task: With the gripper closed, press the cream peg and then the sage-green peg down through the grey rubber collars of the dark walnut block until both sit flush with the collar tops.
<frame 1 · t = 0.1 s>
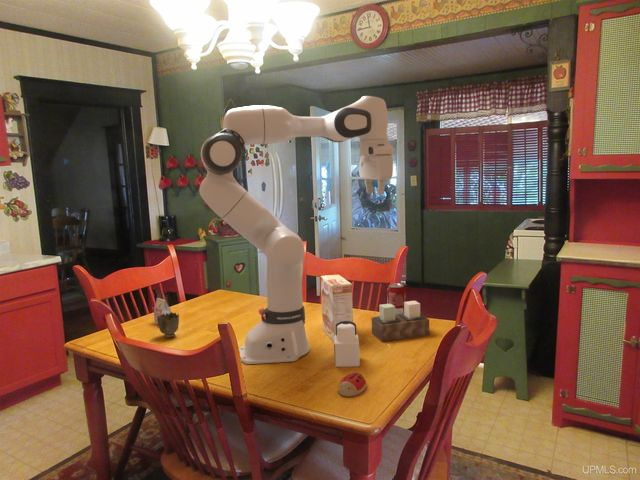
hand: (375, 194, 153), 48 cm above the table, fingers open, 8 cm apart
cup: (169, 337, 169), on the table
peg near sage: (387, 313, 160), point 8 cm above the table, slide at 4.5 cm
walnut block: (400, 334, 163), on the table
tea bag: (163, 325, 184), on the table
coffeecake box: (337, 335, 165), on the table
peg far cream: (412, 310, 163), point 8 cm above the table, slide at 4.5 cm
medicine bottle: (347, 362, 142), on the table
ladybug figurine: (352, 390, 124), on the table
soda can: (396, 316, 183), on the table
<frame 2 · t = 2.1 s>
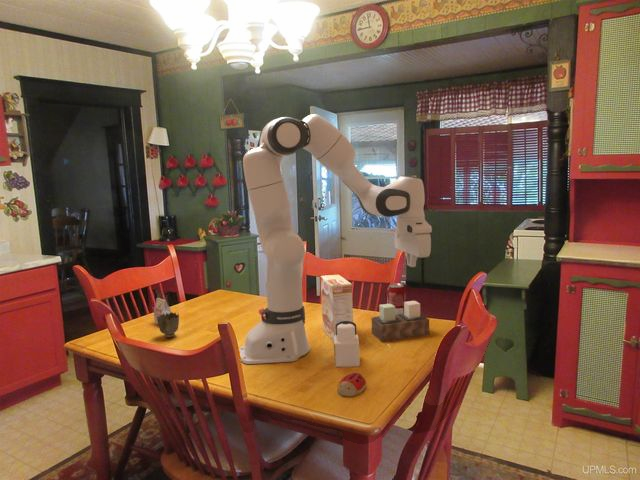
hand: (411, 266, 160), 23 cm above the table, fingers closed
nothing on the table moved.
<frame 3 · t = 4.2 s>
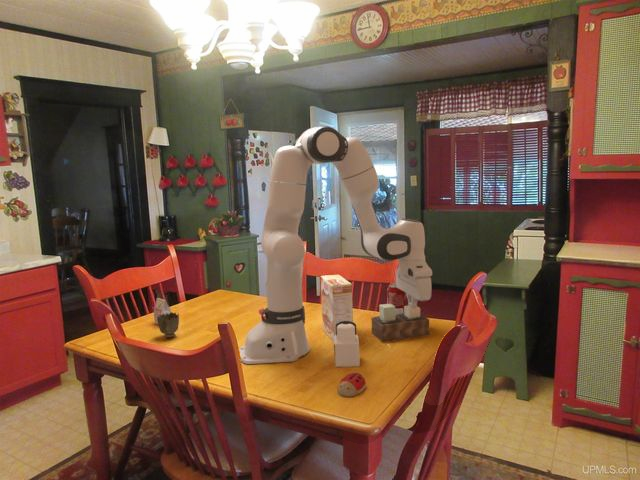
hand: (412, 306, 163), 9 cm above the table, fingers closed, pressing on peg far cream
peg far cream: (412, 315, 163), point 6 cm above the table, slide at 3.0 cm, touching gripper
everything else where it was.
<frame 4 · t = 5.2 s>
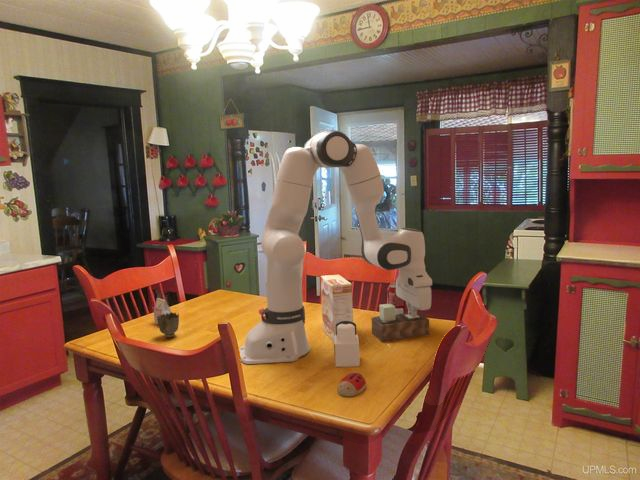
hand: (412, 315, 163), 6 cm above the table, fingers closed, pressing on peg far cream
peg far cream: (412, 323, 163), point 3 cm above the table, slide at -0.1 cm, touching gripper
everything else where it was.
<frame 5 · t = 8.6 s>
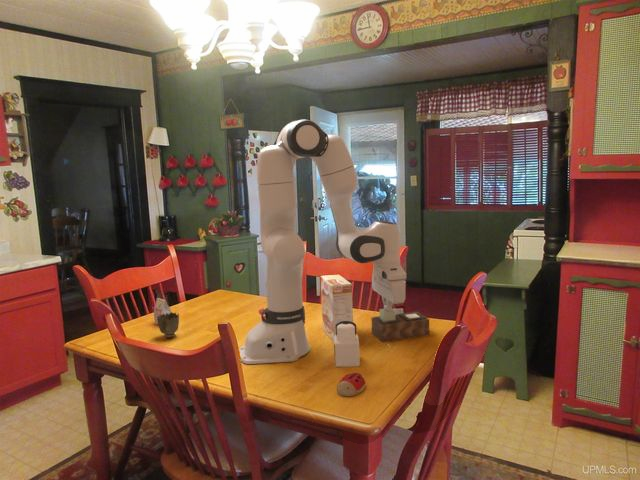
hand: (388, 309, 160), 9 cm above the table, fingers closed, pressing on peg near sage
peg near sage: (387, 318, 161), point 6 cm above the table, slide at 3.0 cm, touching gripper
peg far cream: (412, 323, 163), point 3 cm above the table, slide at -0.1 cm
everything else where it was.
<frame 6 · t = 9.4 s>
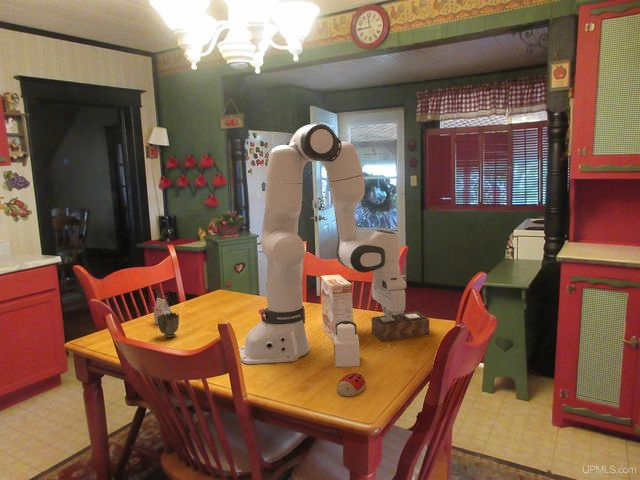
hand: (387, 318, 161), 6 cm above the table, fingers closed, pressing on peg near sage
peg near sage: (387, 327, 161), point 3 cm above the table, slide at -0.1 cm, touching gripper
everything else where it was.
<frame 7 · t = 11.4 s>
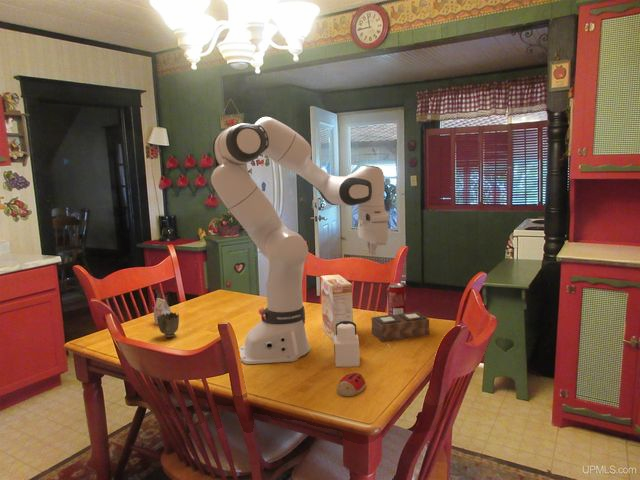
hand: (371, 254, 164), 27 cm above the table, fingers closed
peg near sage: (387, 327, 161), point 3 cm above the table, slide at -0.1 cm
everything else where it was.
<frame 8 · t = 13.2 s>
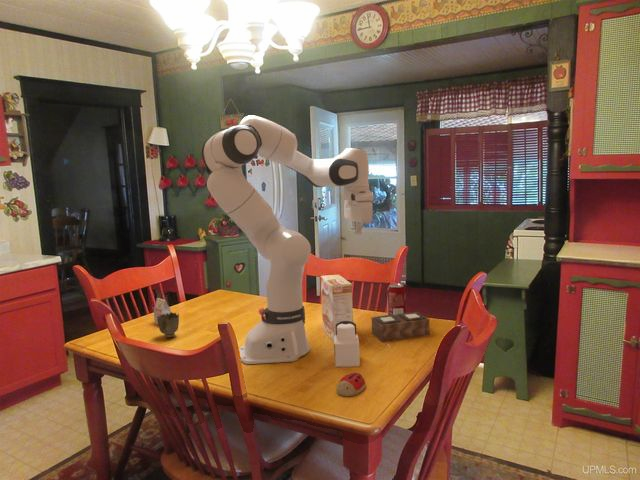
hand: (357, 233, 170), 33 cm above the table, fingers closed
nothing on the table moved.
at the end: peg far cream slide at -0.1 cm; peg near sage slide at -0.1 cm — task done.
